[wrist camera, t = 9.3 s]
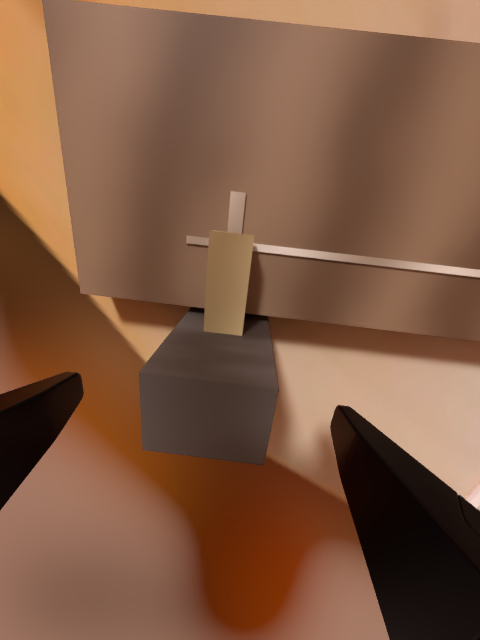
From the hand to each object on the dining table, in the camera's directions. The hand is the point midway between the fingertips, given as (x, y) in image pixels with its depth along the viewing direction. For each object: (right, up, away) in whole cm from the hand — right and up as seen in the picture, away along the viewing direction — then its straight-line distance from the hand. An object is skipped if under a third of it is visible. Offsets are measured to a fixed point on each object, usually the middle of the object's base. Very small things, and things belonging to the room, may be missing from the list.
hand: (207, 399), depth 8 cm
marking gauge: (+1, +4, +4) cm, 6 cm away
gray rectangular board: (+6, +8, +3) cm, 10 cm away
